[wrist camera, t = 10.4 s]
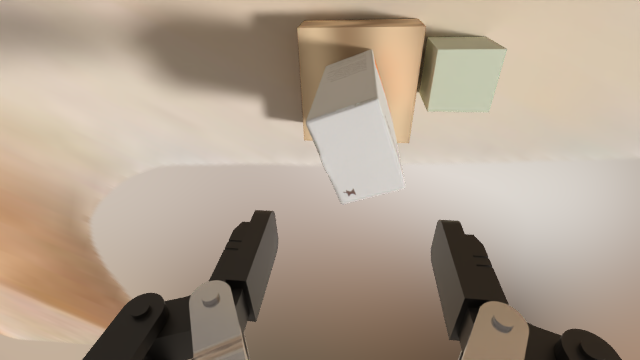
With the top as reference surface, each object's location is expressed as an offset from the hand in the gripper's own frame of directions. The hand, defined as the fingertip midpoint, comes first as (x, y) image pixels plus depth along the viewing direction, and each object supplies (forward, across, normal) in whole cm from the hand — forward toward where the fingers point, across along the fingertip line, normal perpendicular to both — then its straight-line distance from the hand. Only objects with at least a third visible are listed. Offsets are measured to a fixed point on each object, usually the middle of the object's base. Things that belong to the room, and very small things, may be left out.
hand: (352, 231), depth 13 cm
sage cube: (+22, -8, -1) cm, 23 cm away
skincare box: (+18, 0, 0) cm, 18 cm away
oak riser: (+22, 0, 0) cm, 22 cm away
